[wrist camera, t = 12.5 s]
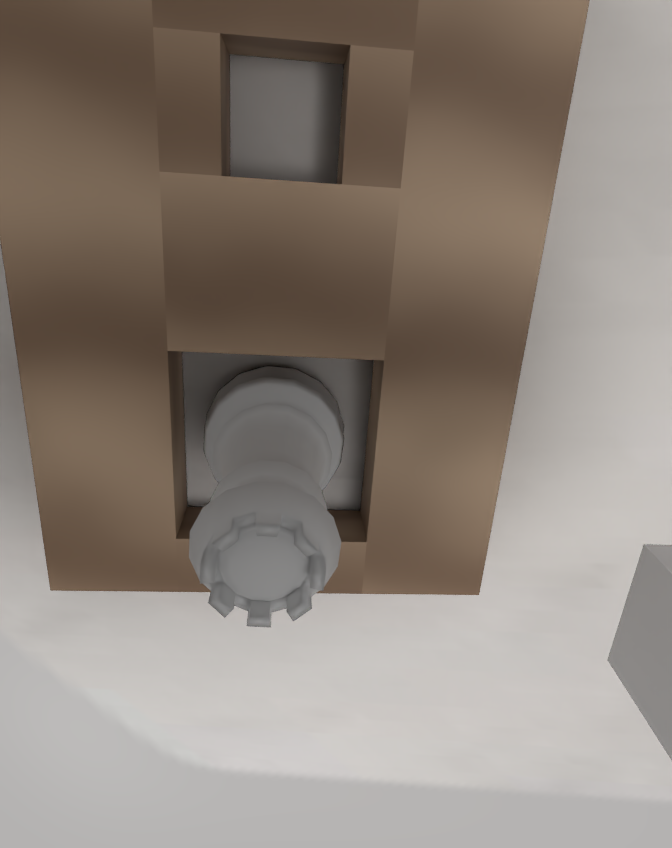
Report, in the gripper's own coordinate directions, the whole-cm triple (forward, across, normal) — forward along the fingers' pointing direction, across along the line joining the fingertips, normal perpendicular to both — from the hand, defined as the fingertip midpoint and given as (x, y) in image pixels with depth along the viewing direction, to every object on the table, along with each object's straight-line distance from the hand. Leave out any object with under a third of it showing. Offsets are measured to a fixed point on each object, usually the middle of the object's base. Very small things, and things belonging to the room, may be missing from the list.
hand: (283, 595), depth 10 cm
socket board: (+9, -1, +4) cm, 10 cm away
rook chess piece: (+9, -1, 0) cm, 9 cm away
